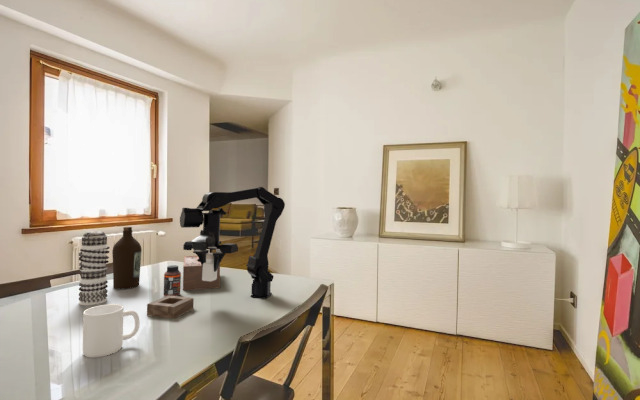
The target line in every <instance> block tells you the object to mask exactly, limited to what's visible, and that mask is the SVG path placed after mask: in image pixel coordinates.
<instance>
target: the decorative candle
mask: <svg viewBox="0 0 640 400" xmlns="http://www.w3.org/2000/svg"><path fill="white" fill-rule="evenodd" d="M80 238H81V244H80V250H79V251H80V252H79V253H78V256H79V257H78V261H80V262H79V264H78V266H79V267H78V270H79V271H80V282H79V284H78V286H79V288H78V290H79V291H80V292H79V293H78V301H79V302H78V304H79V306H93V305H95V306H96V305H100V304H103V303H106V302H107V301H108V298H107V297H108V291H109V290H108V289H107V288H108V283H109V281H108V280H107V279H108V278H107V277H108V276H107V269H108V268H109V266H108V265H107V264H108V263H110V261H109V260H108V259H109V258H110V256H108V254H110V251H109V249H110V246H108V235H106V233H105V232H104V231H102V230H101V231H97V230H94V231H85V232H84V233H83V235H82V236H80Z"/></svg>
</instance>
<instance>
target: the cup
mask: <svg viewBox="0 0 640 400" xmlns="http://www.w3.org/2000/svg"><path fill="white" fill-rule="evenodd" d="M82 314H83V315H82V317H83V318H82V319H83V320H82V354H83V356H85V357H87V358H89V359H90V358H91V359H93V358H95V359H96V358H103V357H107V355H108V356H110V354H111V355H113V354H115V353H117V352H118V350H119V351H120V350H121V349H122V347H123V342H124V341H125V340H130V339H131V338H133V337H134V336H136V335H137V333H138V332H139V330H140V317H139V314H138V313H137V311H135V310H124V306H123V305H122V304H116V303H115V304H114V303H111V304H109V303H107V304H101V305H100V304H99V305H95V306H93V307H89V308H87V309H85V310H84V311H83V313H82ZM128 316H132V317H133V319H134V328H133V330H132V331H131V332H128V333H127V334H124V318H126V317H128ZM112 353H113V354H112Z"/></svg>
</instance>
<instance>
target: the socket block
mask: <svg viewBox="0 0 640 400" xmlns="http://www.w3.org/2000/svg"><path fill="white" fill-rule="evenodd" d="M192 310H194V297H187V296H179V295H178V296H170V295H168V296H163V297H161V298H159V299H156V300H153V301H151V302H149V303H147V304H146V316H149V317H150V316H151V317H156V316H157V317H158V318H166V319H172V318H173V319H177V318H178V317H181V316H182V315H184V314H186V313H188V312H189V311H192ZM157 317H156V318H157Z"/></svg>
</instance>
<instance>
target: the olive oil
mask: <svg viewBox="0 0 640 400" xmlns="http://www.w3.org/2000/svg"><path fill="white" fill-rule="evenodd" d="M122 229H123V230H122V237H121V238H119V239H118V241H116V242H115V243H114V245H113V247H112V272H113V273H112V280H113V284H112V285H113V286H112V287H113V289H116V290H129V289H134V288H136V287H138V286H139V285H140V278H141V277H140V276H141V265H142V264H141V262H142V245H141V243H140V242H139V241H138V240H137V239H136V238H135V237H133V227H132V226H124V227H123V228H122Z"/></svg>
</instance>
